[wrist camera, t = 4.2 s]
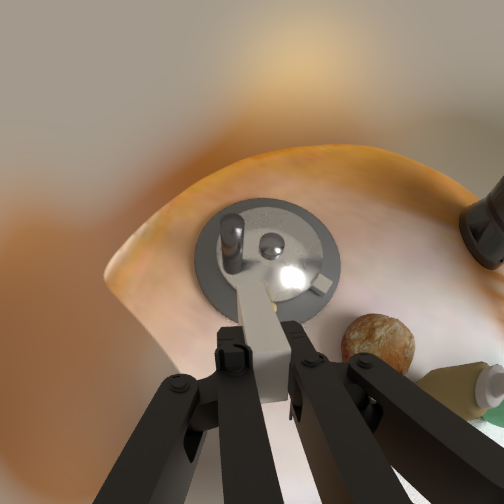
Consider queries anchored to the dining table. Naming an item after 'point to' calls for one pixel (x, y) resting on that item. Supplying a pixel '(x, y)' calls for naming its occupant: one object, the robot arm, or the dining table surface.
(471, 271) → the dining table surface
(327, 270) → the base pad
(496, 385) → the squeeze bottle
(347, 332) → the bread roll
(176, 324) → the dining table surface
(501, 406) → the mug
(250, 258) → the flange plate
